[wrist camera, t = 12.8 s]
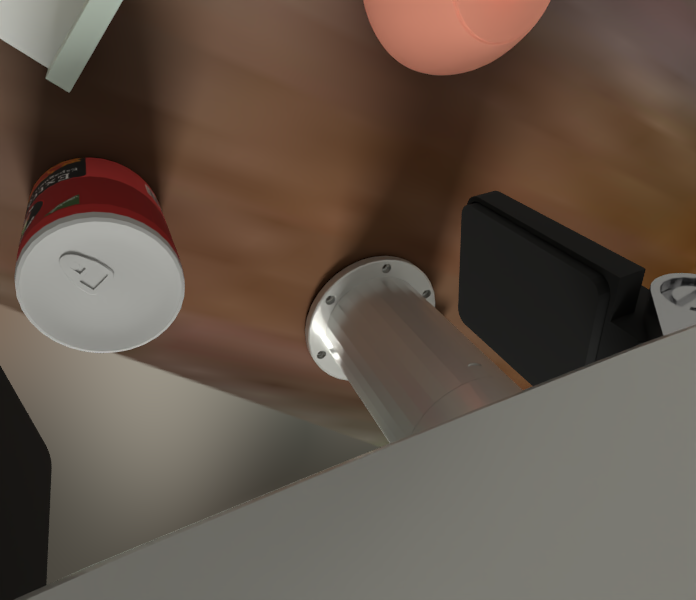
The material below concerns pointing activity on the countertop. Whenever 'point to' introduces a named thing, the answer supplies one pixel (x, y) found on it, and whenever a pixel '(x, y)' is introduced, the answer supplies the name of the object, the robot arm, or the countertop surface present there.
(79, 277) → the canned food
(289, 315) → the countertop surface
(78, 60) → the arena
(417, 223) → the countertop surface
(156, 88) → the countertop surface
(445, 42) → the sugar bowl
